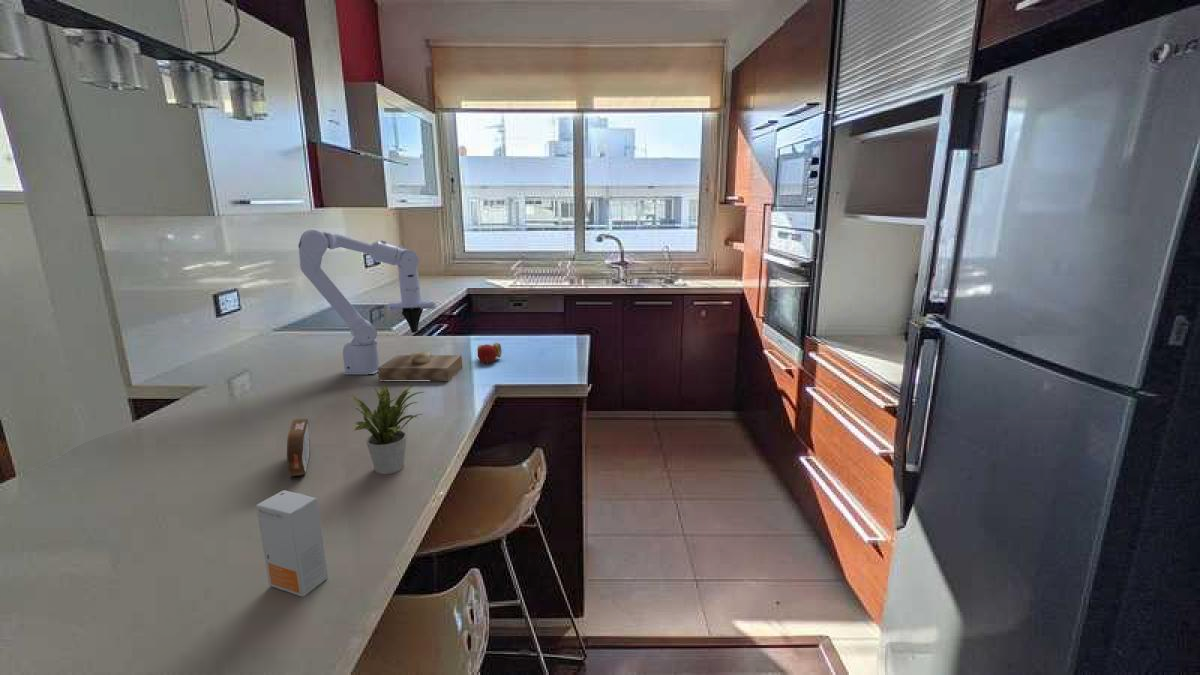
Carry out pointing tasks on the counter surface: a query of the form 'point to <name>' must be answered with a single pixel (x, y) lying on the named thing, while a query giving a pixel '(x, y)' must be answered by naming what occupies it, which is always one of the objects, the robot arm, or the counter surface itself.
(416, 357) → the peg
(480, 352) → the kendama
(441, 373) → the board
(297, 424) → the tin
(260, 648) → the counter surface
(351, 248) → the robot arm
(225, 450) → the counter surface
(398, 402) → the house plant
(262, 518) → the skincare box
